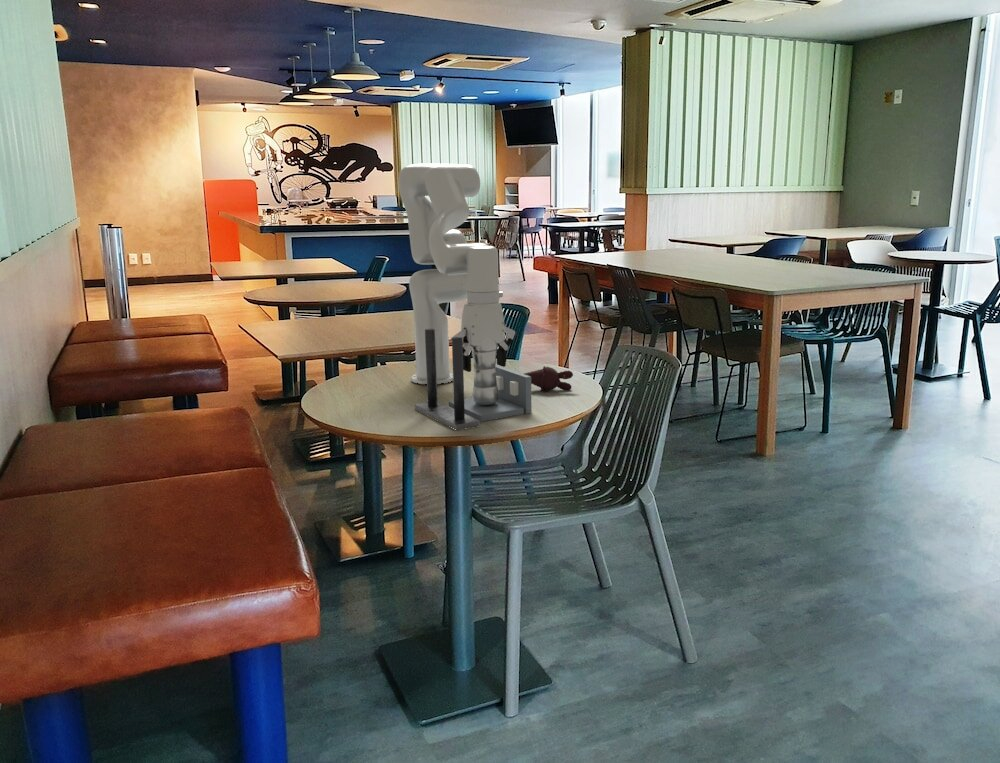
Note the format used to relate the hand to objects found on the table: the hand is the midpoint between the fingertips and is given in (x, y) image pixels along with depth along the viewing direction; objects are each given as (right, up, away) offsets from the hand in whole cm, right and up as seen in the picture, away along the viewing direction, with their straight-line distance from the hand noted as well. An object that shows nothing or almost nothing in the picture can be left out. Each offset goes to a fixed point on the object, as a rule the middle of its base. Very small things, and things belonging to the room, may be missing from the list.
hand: (484, 368), depth 194 cm
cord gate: (-9, -12, -3) cm, 15 cm away
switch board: (+1, -10, +3) cm, 11 cm away
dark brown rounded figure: (+16, -6, +21) cm, 27 cm away
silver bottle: (0, -9, +2) cm, 9 cm away
